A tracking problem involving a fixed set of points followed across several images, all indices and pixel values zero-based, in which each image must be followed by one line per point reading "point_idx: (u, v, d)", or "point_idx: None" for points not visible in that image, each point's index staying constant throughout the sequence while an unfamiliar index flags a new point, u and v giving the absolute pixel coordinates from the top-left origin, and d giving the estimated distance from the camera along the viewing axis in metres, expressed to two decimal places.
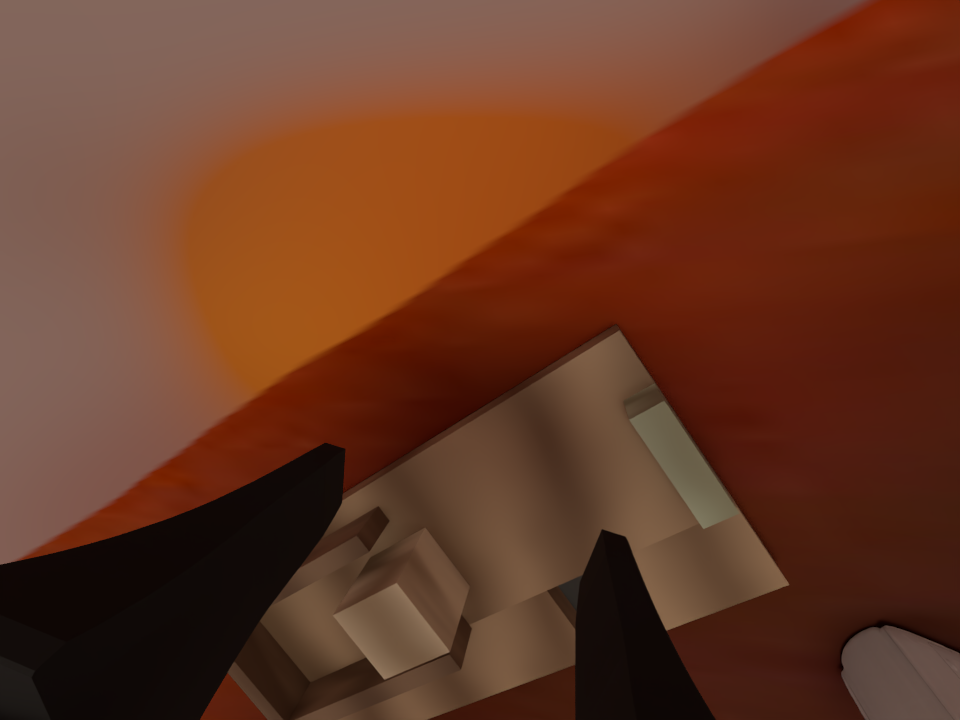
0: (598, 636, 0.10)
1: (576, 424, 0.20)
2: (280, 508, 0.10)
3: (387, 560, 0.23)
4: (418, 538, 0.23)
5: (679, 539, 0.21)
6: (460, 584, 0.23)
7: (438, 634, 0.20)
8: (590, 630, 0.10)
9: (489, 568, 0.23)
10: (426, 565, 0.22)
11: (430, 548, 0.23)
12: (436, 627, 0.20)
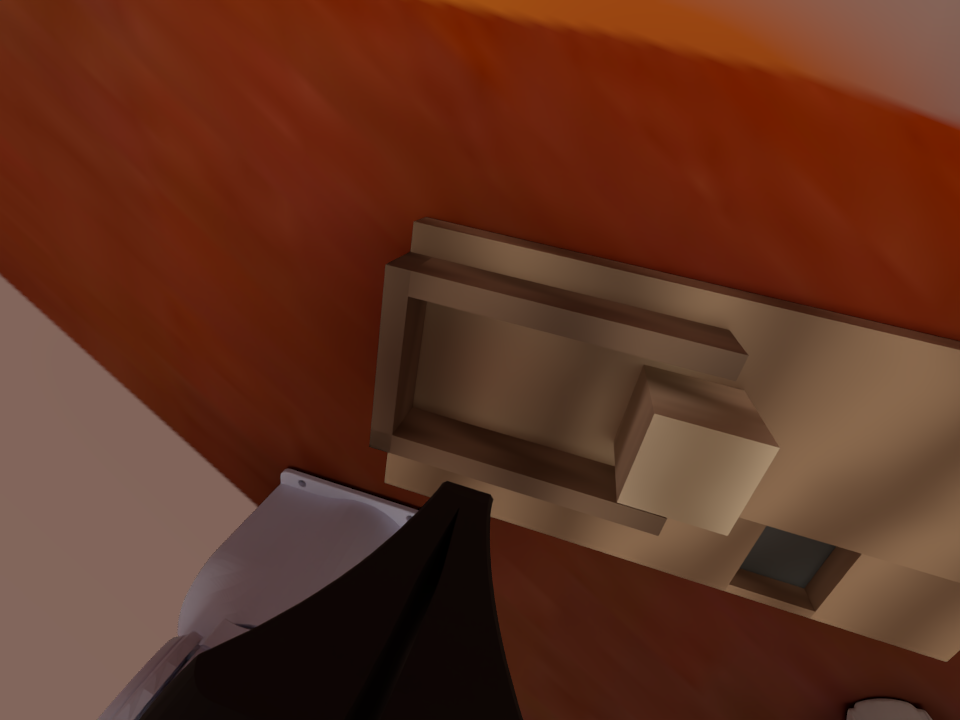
0: None
1: None
2: (431, 559, 0.09)
3: (701, 393, 0.17)
4: (747, 399, 0.17)
5: (933, 581, 0.20)
6: None
7: (738, 516, 0.16)
8: None
9: None
10: None
11: None
12: (739, 507, 0.16)
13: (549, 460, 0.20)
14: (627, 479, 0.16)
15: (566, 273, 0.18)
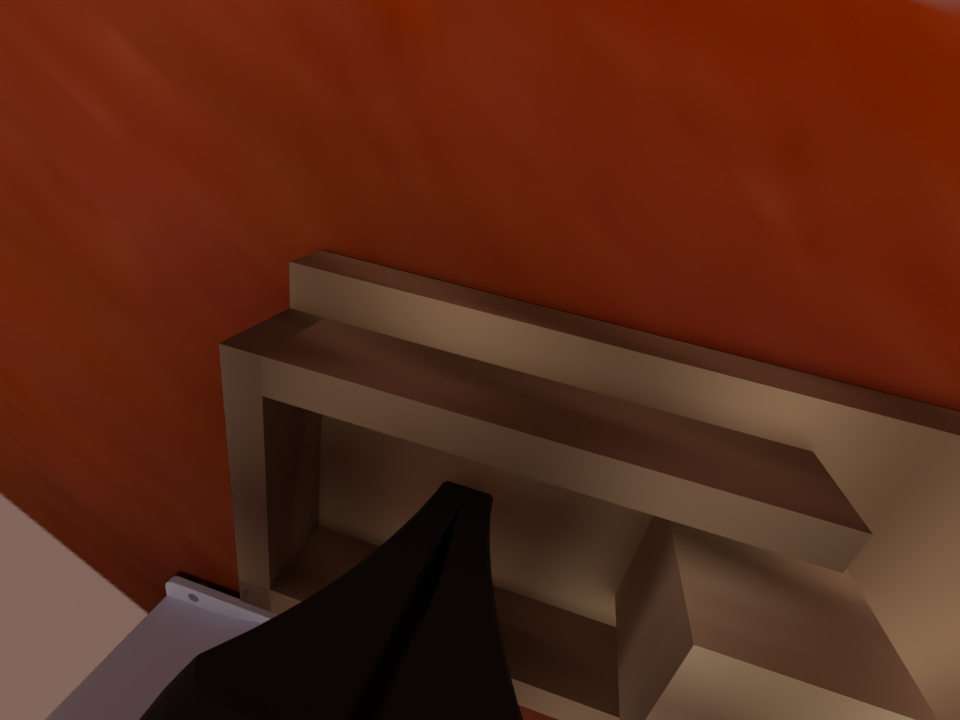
0: None
1: None
2: (431, 559, 0.09)
3: (766, 562, 0.10)
4: None
5: None
6: None
7: None
8: None
9: None
10: None
11: None
12: None
13: (516, 624, 0.13)
14: None
15: (537, 350, 0.11)
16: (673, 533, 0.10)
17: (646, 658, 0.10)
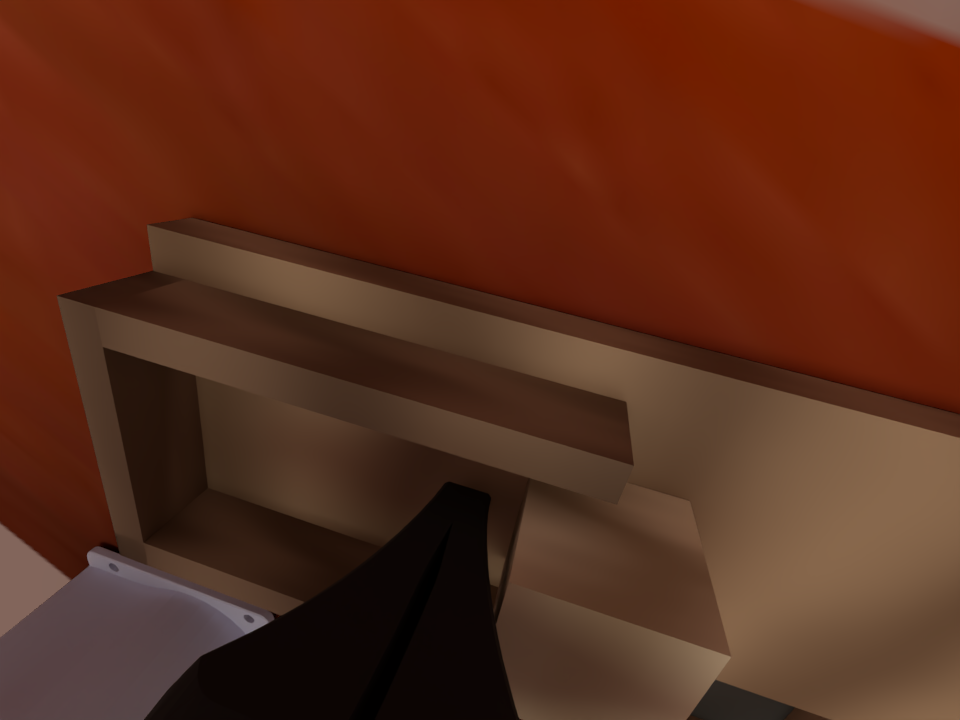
0: None
1: None
2: (433, 560, 0.09)
3: (614, 516, 0.10)
4: (690, 523, 0.11)
5: None
6: None
7: None
8: None
9: None
10: None
11: None
12: None
13: None
14: None
15: (374, 307, 0.11)
16: (529, 489, 0.11)
17: (497, 606, 0.10)
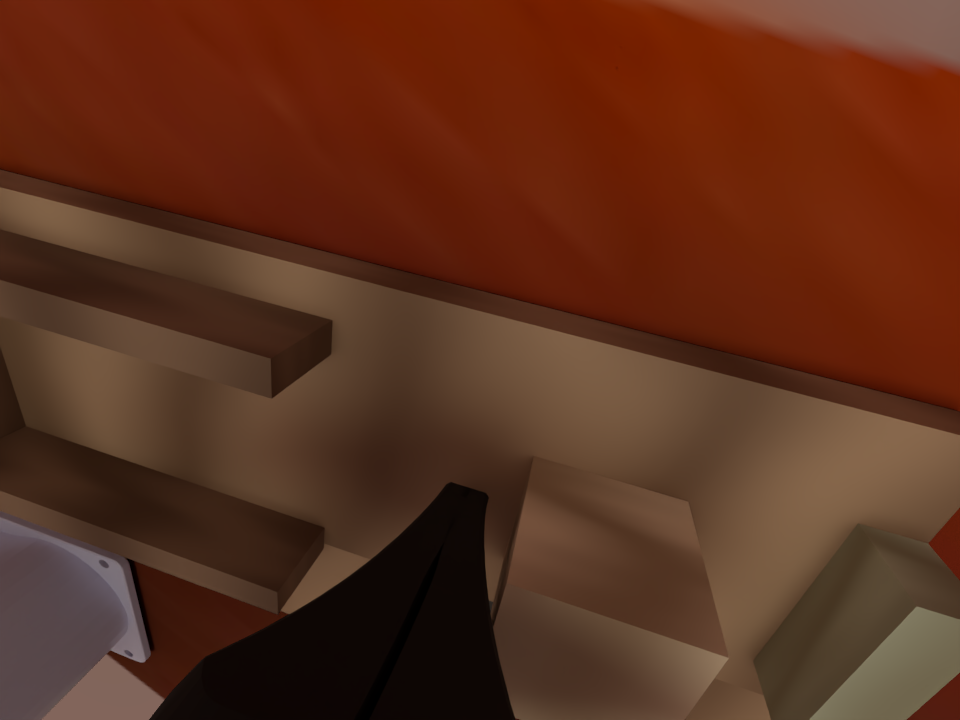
0: None
1: (757, 490, 0.11)
2: (436, 561, 0.09)
3: (612, 516, 0.10)
4: (689, 524, 0.11)
5: None
6: None
7: None
8: None
9: None
10: None
11: None
12: None
13: (167, 502, 0.15)
14: None
15: (113, 238, 0.12)
16: (528, 490, 0.11)
17: (495, 607, 0.10)
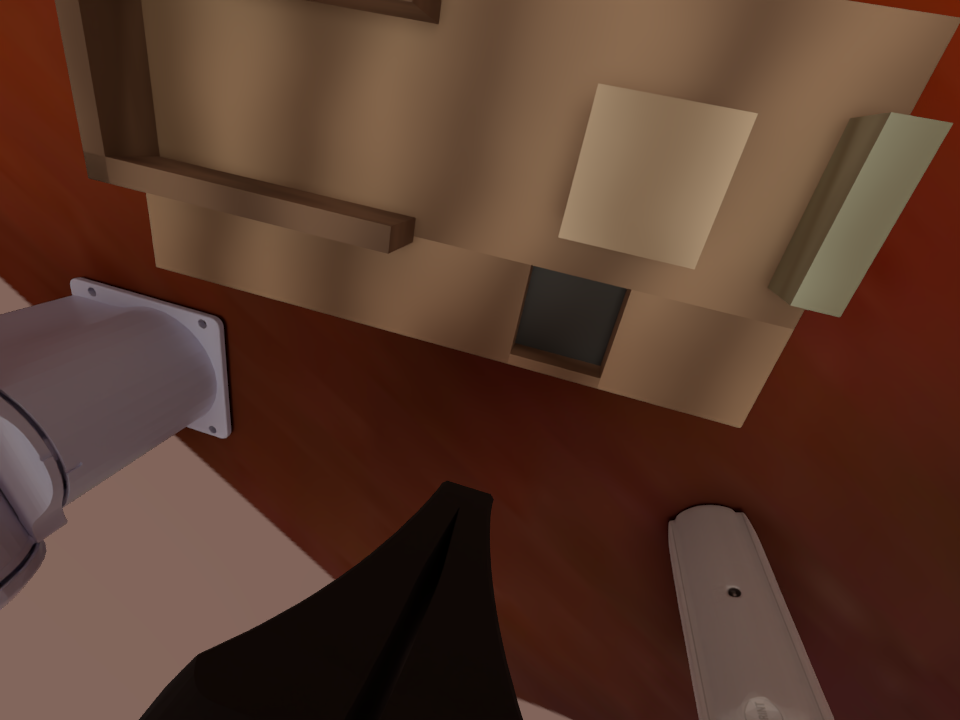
0: None
1: (773, 100, 0.14)
2: (431, 559, 0.09)
3: None
4: None
5: (708, 318, 0.17)
6: None
7: (707, 236, 0.13)
8: None
9: (497, 191, 0.17)
10: None
11: None
12: (709, 227, 0.13)
13: (288, 192, 0.18)
14: (569, 198, 0.13)
15: None
16: None
17: None
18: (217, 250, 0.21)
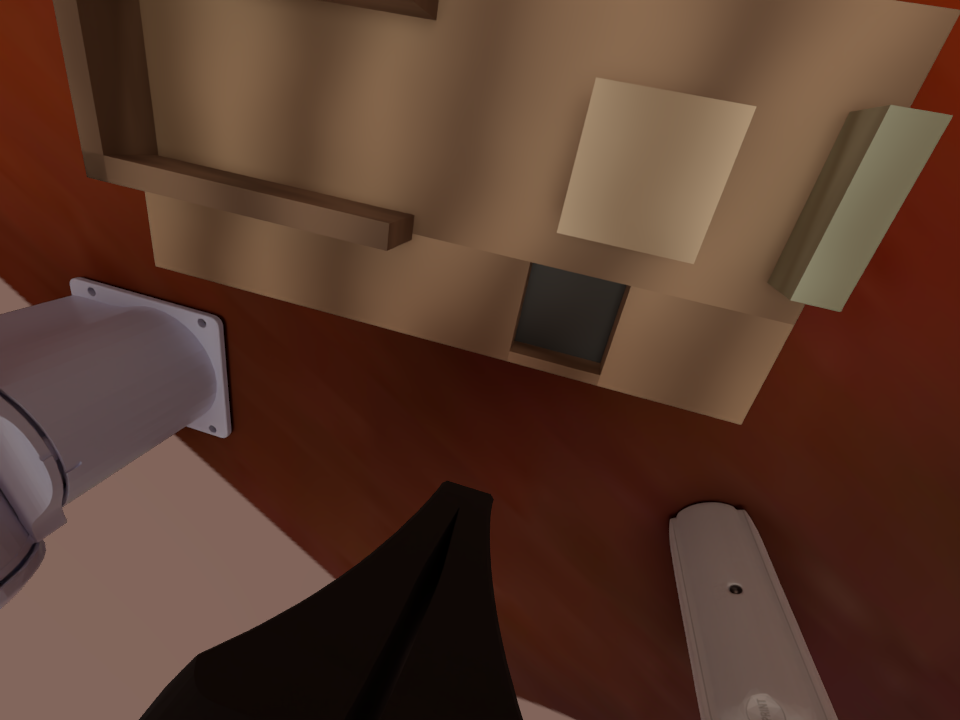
0: None
1: (772, 94, 0.14)
2: (431, 559, 0.09)
3: None
4: None
5: (708, 314, 0.17)
6: None
7: (706, 230, 0.13)
8: None
9: (496, 188, 0.17)
10: None
11: None
12: (707, 222, 0.13)
13: (287, 190, 0.18)
14: (567, 193, 0.13)
15: None
16: None
17: None
18: (216, 249, 0.21)
